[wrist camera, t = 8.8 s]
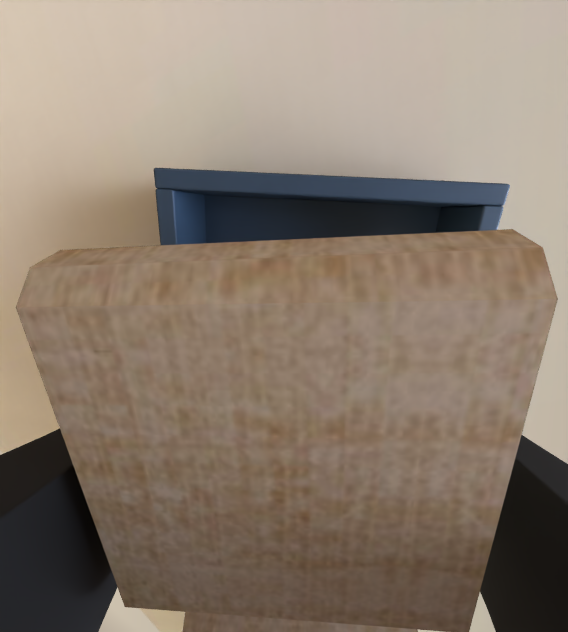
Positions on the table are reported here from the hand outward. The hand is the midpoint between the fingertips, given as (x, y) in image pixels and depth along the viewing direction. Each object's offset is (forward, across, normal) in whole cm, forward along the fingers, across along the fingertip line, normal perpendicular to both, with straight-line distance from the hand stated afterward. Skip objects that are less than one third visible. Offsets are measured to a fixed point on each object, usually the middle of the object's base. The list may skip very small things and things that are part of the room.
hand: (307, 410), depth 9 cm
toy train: (+6, 0, +3) cm, 6 cm away
